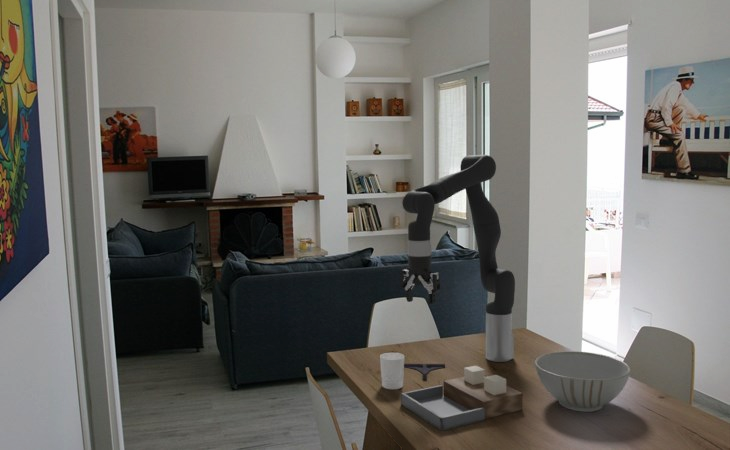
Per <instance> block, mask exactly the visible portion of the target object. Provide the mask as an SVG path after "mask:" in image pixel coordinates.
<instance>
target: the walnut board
mask: <svg viewBox="0 0 730 450" xmlns="http://www.w3.org/2000/svg"><path fill="white" fill-rule="evenodd" d="M485 377H488V375H485ZM523 394H524V393H523V392H521V391H519V390H518V389H517V390H516V389H514V388H512V387H510V386H508V385H506V393H501V394H497V395H492V394H490V393H488V392H486V391H484V383H479V384H474V385H472V384H470V383H468V382H466V381H464V376H461V377H455V378H451V379H447V380H443V395H444V396H446V397H447V398H449V399H451V400H453V401H455V402H456V403H458V404H460V405H462V406H464V407H465V408H467V409H469V410H473V409H478V408H482V407H483V408H485V419H491V418H494V417H497V416H501V415H506V414H510V413H514V412H515V413H516V412H519V411H523Z"/></svg>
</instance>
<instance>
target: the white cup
mask: <svg viewBox="0 0 730 450" xmlns="http://www.w3.org/2000/svg"><path fill="white" fill-rule="evenodd" d="M379 359H380V362H379V363H380V364H379V365H380V377H381V386H382V388H384V389H386V390H399V389H401V388H403V387H404V375H405V367H404V364H405V355H404V354H402V353H401V352H386V353H382V354H380V355H379Z"/></svg>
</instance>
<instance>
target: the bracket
mask: <svg viewBox="0 0 730 450" xmlns="http://www.w3.org/2000/svg"><path fill="white" fill-rule="evenodd" d="M405 368H407V369H411V370H414V371H418V372H420V373H421V374H422V380H423V381H428V373H430V372H432V371H435V370H439V369H440V370H441V369H446V364H445V363H404V369H405Z"/></svg>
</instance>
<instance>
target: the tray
mask: <svg viewBox="0 0 730 450" xmlns="http://www.w3.org/2000/svg"><path fill="white" fill-rule="evenodd" d="M400 405H401V406H402V407H404V408H405V409H408V411H411V412H412V413H414V414H415V415H416V416H418V417H420V418H421V419H423V420H425V421H426V422H428V423H429V424H431V425H432V426H433V427H435V428H437V429H438V430H440V431H446V430H451V429H454V428H459V427H462V426H463V427H464V426H466V425H472V424H475V423H479V422H482V421H485V408H483V407H482V408H478V409H473V410H469V409H467V408H465V407H464V406H462V405H460V404H458V403H456V402H455V401H453V400H451V399H449V398H447V397H446V396H444V385H442V384H440V385H435V386H429V387H425V388H419V389H415V390H411V391H404V392H401V393H400Z"/></svg>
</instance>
